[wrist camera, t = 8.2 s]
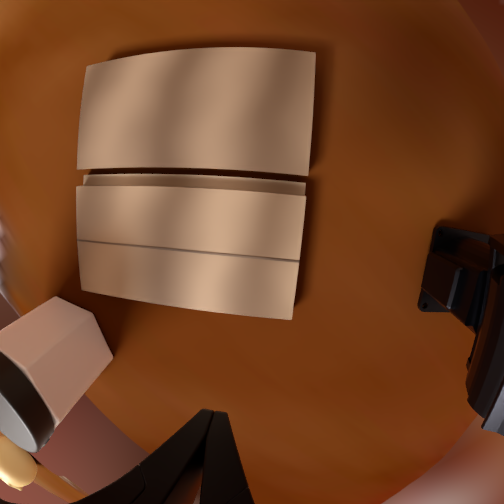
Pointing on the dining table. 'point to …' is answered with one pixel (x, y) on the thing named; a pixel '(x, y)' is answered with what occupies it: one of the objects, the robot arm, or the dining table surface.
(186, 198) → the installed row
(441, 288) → the robot arm
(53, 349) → the jar
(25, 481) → the sculpture
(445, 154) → the dining table surface
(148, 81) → the plank
